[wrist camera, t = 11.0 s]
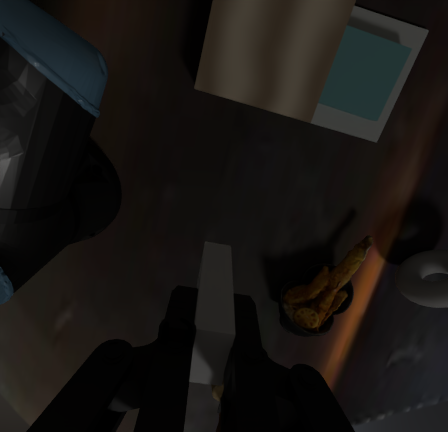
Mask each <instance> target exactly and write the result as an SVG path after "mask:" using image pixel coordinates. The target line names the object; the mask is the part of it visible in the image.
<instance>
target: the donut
mask: <svg viewBox="0 0 448 432" xmlns="http://www.w3.org/2000/svg"><path fill="white" fill-rule="evenodd" d="M432 273H446V274H448V250H429V251H423V252H420V253H417V254H414V255H412V256H411V257H409V258H407V259H406V260H404V261H403V262H402V263H401V264H400V265H399V267H398V269H397V271H396V274H395V282H396V285H397V287H398V289H399V290H400V292H401V293H402V294H403V295H404V296H405V297H407V298H408V299H409V300H411V301H412V302H415V303H417V304H420V305H422V306H428V307H434V308H440V307H448V278H446V279H444V280H441V281H433V282H431V281H425V280H422V279H423V278H424V277H425V276H427V275H429V274H432Z"/></svg>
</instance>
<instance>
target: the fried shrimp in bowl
mask: <svg viewBox="0 0 448 432" xmlns="http://www.w3.org/2000/svg"><path fill="white" fill-rule="evenodd" d="M372 243H373V239H372V237H371V236H370V235H367V236H366V237H365V238H364V239H363V240H362V241H360V243H359V244H356V245H355V246H354V249H353V250H351V251H349V252H348V254H347V256H346V257H345V258H344V259H343V261H342V262H341V263H340V264H338V265H337V266H334V265H332V264H316V265H313V266H312V267H310V268H309V269H308V270H306V272H305V273H304V275H303V277H302V280H301V281H290V282H288V283H286V284H285V285H284V286H283V287H282V289H281V293H280V299H279V312H280V324H281V325H282V327H283V328H284V329H285V330H286V331H287V332H288V333H293V334H295V335H298V336H304V337H309V336H321V335H324V334H326V333H328V332H329V331H330V330H331V328H332V326H333V322H334V317H333V315H335V314H336V315H338V314H340V313H343V312H345V311H346V310H347V309H348V308H349V306H350V305H351V303H352V300H353V296H354V289H353V286H352V283H351V280H350V277H351V275H352V274H354V273H355V271H356V270H357V269H358V267H359V266H360V264H361V263H362V262H363V261H364V259H365V258H366V254H367V252H368V250H369V248H370V247H371V245H372Z"/></svg>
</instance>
